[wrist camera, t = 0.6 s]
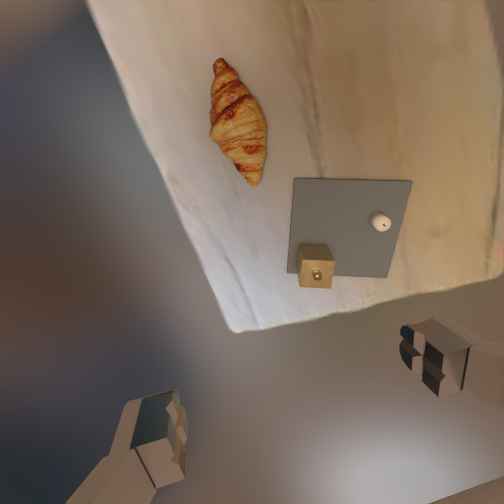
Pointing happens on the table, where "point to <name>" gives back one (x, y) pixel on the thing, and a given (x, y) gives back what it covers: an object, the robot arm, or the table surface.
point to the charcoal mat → (348, 222)
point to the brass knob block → (315, 265)
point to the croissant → (237, 123)
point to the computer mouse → (380, 221)
